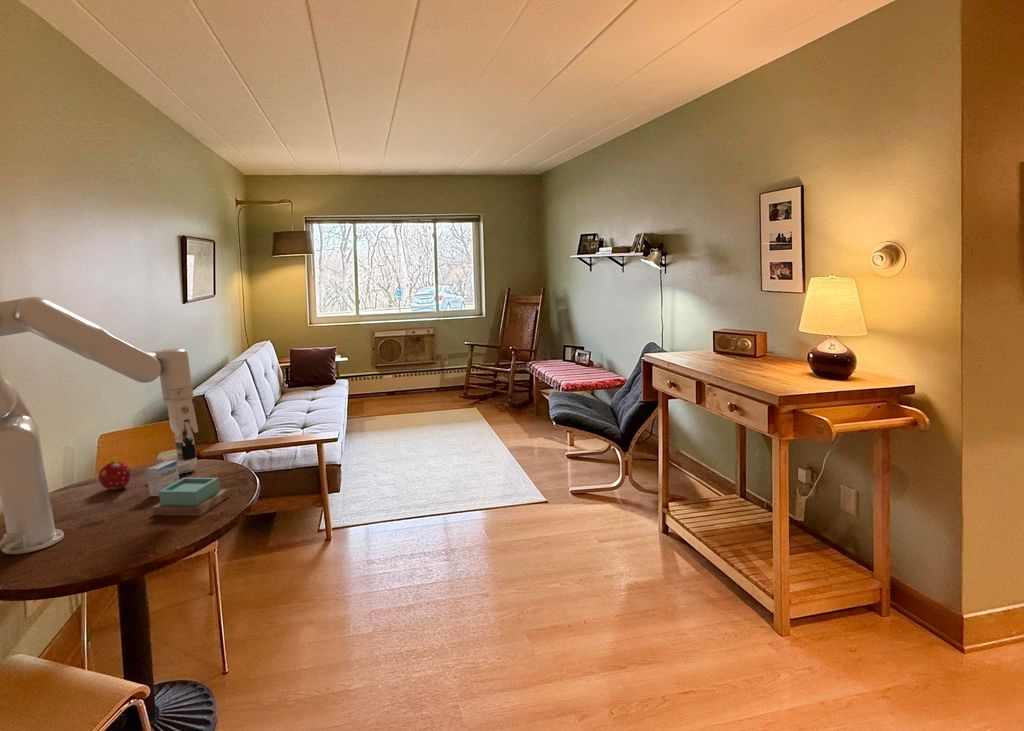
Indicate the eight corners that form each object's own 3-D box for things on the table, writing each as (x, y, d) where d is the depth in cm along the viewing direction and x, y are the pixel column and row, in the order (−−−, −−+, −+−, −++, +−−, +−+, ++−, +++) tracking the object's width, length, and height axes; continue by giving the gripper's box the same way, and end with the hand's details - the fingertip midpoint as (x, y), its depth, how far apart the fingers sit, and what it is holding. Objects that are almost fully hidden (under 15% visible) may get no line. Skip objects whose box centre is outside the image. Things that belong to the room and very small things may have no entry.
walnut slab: (200, 518, 176) (199, 507, 175) (154, 517, 178) (152, 506, 177) (229, 498, 189) (228, 489, 189) (186, 498, 192) (185, 488, 191)
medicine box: (162, 497, 191) (158, 469, 190) (149, 496, 192) (145, 468, 191) (180, 487, 199) (177, 460, 198) (168, 487, 200) (164, 460, 199)
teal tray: (197, 505, 177) (195, 491, 176) (160, 505, 178) (158, 491, 178) (220, 490, 188) (218, 477, 187) (185, 490, 189) (183, 477, 188)
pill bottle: (174, 461, 181) (170, 432, 180) (191, 456, 185) (187, 428, 183) (182, 463, 178) (178, 434, 177) (199, 459, 182) (195, 430, 180)
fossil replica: (204, 470, 216) (181, 470, 219) (201, 445, 216) (178, 446, 219) (175, 479, 205) (151, 479, 208) (172, 453, 204) (148, 454, 207)
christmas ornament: (95, 494, 196) (89, 463, 194) (110, 485, 204) (105, 454, 203) (124, 493, 196) (119, 461, 195) (138, 483, 205) (133, 453, 203)
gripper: (201, 395, 174) (210, 459, 177) (183, 387, 187) (192, 448, 190) (171, 400, 169) (180, 466, 172) (155, 392, 182) (164, 454, 185)
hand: (186, 456), depth 181 cm, fingers closed on pill bottle, 4 cm apart
